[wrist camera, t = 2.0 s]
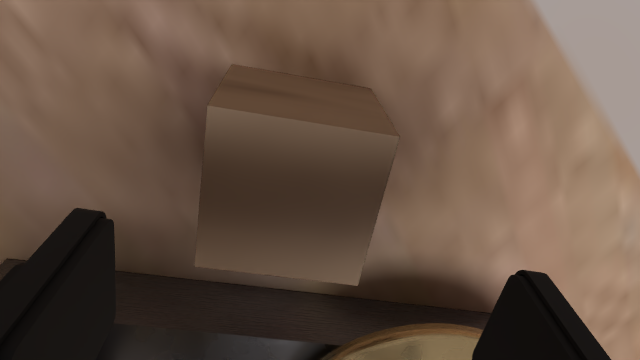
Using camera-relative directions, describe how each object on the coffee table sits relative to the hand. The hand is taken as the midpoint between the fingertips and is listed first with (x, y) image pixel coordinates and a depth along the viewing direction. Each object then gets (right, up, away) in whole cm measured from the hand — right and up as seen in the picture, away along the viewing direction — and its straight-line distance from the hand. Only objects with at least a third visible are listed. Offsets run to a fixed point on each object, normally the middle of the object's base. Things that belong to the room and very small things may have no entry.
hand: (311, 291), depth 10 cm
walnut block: (-1, +4, +10) cm, 11 cm away
